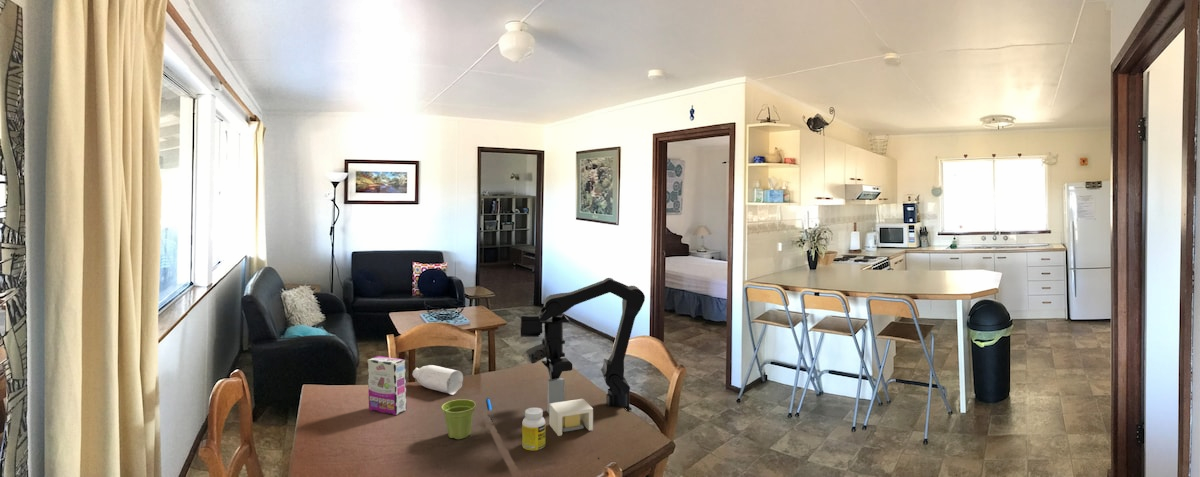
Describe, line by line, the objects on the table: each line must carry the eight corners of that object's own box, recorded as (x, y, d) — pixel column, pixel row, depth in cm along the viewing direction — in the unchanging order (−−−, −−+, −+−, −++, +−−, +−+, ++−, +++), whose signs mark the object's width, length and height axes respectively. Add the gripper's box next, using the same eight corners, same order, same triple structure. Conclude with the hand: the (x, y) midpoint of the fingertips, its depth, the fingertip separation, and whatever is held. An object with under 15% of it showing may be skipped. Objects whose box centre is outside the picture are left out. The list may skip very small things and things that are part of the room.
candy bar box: (407, 410, 179) (406, 359, 177) (396, 416, 174) (394, 363, 173) (379, 404, 183) (378, 354, 181) (368, 410, 178) (366, 359, 177)
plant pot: (446, 445, 155) (445, 414, 154) (439, 431, 163) (438, 402, 163) (480, 438, 159) (479, 408, 159) (471, 425, 168) (470, 397, 167)
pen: (491, 422, 171) (490, 419, 170) (486, 399, 189) (486, 396, 189) (494, 422, 171) (493, 418, 171) (489, 399, 189) (489, 395, 189)
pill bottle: (541, 457, 149) (541, 416, 148) (519, 454, 150) (518, 414, 149) (548, 446, 155) (548, 407, 154) (526, 444, 156) (526, 405, 155)
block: (574, 421, 167) (574, 406, 167) (579, 427, 163) (579, 412, 163) (559, 423, 166) (559, 409, 165) (565, 430, 162) (565, 414, 161)
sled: (564, 410, 178) (564, 377, 177) (583, 431, 163) (583, 396, 162) (546, 412, 176) (545, 379, 175) (563, 435, 160) (563, 398, 160)
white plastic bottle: (425, 380, 206) (424, 359, 205) (464, 390, 196) (463, 367, 195) (407, 387, 199) (407, 365, 198) (447, 397, 189) (446, 374, 189)
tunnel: (574, 415, 176) (574, 390, 175) (592, 434, 162) (593, 408, 161) (542, 420, 172) (542, 395, 171) (558, 440, 158) (558, 413, 157)
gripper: (520, 331, 182) (521, 378, 183) (536, 346, 165) (536, 399, 166) (554, 328, 186) (554, 374, 188) (573, 343, 169) (572, 394, 170)
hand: (553, 385), depth 178 cm, fingers closed
